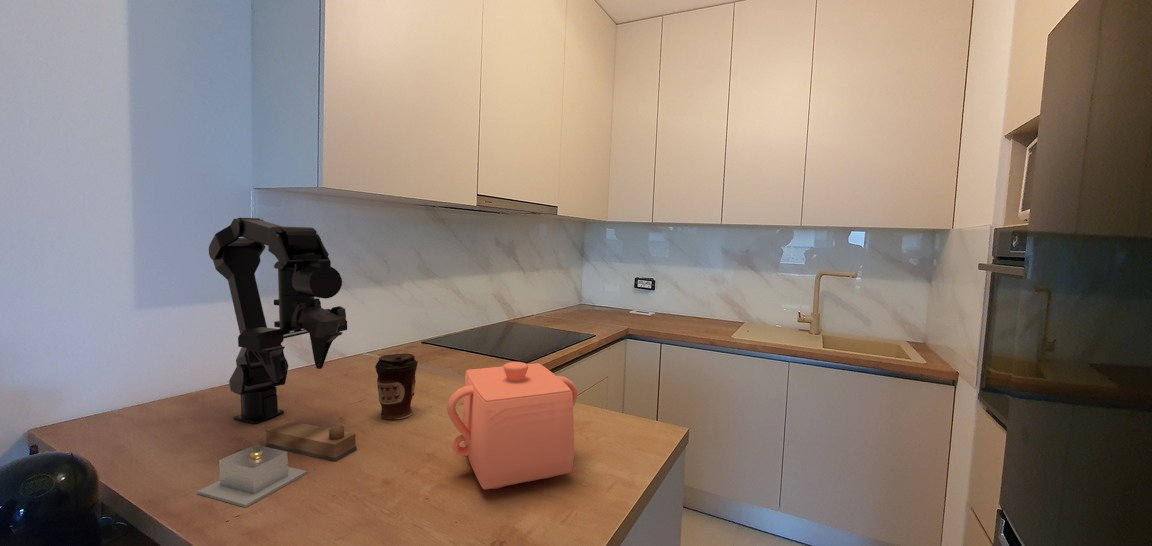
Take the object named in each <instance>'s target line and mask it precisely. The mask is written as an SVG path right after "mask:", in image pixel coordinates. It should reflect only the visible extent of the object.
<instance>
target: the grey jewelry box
mask: <svg viewBox="0 0 1152 546" xmlns="http://www.w3.org/2000/svg"><path fill="white" fill-rule="evenodd" d="M288 457H289V456H288V451H286V450H282V449H277V448H273V447H268V446H263V445H259V444H253V445H251V446H249V447H247V448H244V449H242V450H239V451H237V452H235V453H233V454H229V455H228V456H226V457H222V458H221V459H219V460H218V463H219V466H218V467H219V481H220V486H224V487H228V488H231V489H235V490H239V491H242V492H246V493H250V494H256V493H257V492H259V491H261V490H263V489H265V488H267V487H269V486H270V485H272V484H274V483H276V482H278V481H280V480H282V479H283V478H285V477H287V476H288V467H289V463H288V462H289V461H288Z"/></svg>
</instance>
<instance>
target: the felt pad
mask: <svg viewBox="0 0 1152 546" xmlns="http://www.w3.org/2000/svg"><path fill="white" fill-rule="evenodd" d="M307 474H308V471H307V470H303V469H300V468H295V467H292V466H291V467H290V466H288V476H287V477H285V478H283V479H282V480H280V481H278V482H276V483H274V484H272V485H270V486H269V487H267V488H265V489H263V490H261V491H259V492H257V493H256V494H250V493H246V492H242V491H239V490H235V489H231V488H228V487H224V486H220V480H218V481H216V482H213V483H211V484H210V485H207V486H205V487H203V488H201V489H199V490H197V491H196V494H197V495H200V496H204V497H207V498H211V499H215V500H218V501H220V502H221V501H222V502H225V503H228V504H231V505H235V506H239V507H242V508H248V507H250V506H252V505H254V504H255V503H257V502H258V501H260V500H262V499H264V498H266V497H268V496H270V495H271V494H273V493H275V492H277V491H279V490H280V489H282V488H283V487H285V486H288V485H290V484H291V483H292V482H294V481H296V480H298V479H301V478H302V477H304V476H305V475H307Z"/></svg>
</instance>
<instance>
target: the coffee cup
mask: <svg viewBox="0 0 1152 546" xmlns="http://www.w3.org/2000/svg"><path fill="white" fill-rule="evenodd" d="M415 357H416V356H415V355H414V354H412V353H394V354H384V355H381V356H380V357H378V360H377V363H376V364H375V367H374V368H375V373H377V379H376V380H377V381H376V384H377V391H378V395H377V396H378V402H379V404H380V407H381V413H380V417H381V418H382V419H385V420H402V419H406V418H409V417H411V416H412V415H413V410H412V407H411V405H412V401H413V397H414V396H415V391H416V390H415V389H416V372H417V370H418V363H419V362H418V361H417V360H416V359H415Z"/></svg>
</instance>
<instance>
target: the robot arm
mask: <svg viewBox="0 0 1152 546" xmlns="http://www.w3.org/2000/svg"><path fill="white" fill-rule="evenodd" d="M266 246H268V252H269V253H271V254H272V255H273V256H274V257H275V258H276V259H277V262H275V264H274V265H273V268H274V269H277V281H278V282H277V283H278V298H277V299H276V298H275V299H273V306H278V312H279V314H278V316H279V317H278V318H279V319H278V320H276V321H273V322H274V323H273V324H274V326H273V327H275V328H272V327H267V326H268V325H267V322H266V317H265V313H264V309H263V304H262V300H261V297H260V292H259V288H258V287H259V286H258V282H257V279H256V272H257V270H258V267H259V265H260V263H261V255H262V254H263V252H264V250H265V249H266ZM208 254H209V255H208V256H209V257H210V259H211V260H212V262H213V265H214V268H215V270H216V271H217V273H219V274H220V275H221V276H222V277H224V279H226V280H227V282H228V287H229V291H230V297H231V301H232V304H233V308H234V313H235V318H236V322H237V328H238V331H239V335H238V336H237V343H238V345H237V346H238V348H240V350H239V352H238V354H237V357H236V360H235V362H236V363H235V364H236V367H235V369H234V371H233V373H232V375H231V376H230V378H229V381H228V382H229V383H228V385H229V388H230V392H232V393H234V394H237V395H239V396H240V412H241V413H240V414H238V415H235V416H234V417H233V420H236V421H239V422H246V423H251V424H259V423H261V422H264V421H266V420H269V419H272V418H273V417H276V416H279V415H281V414H284V413H285V410H284V409H279V407H278V405H279V404H278V403H279V402H278V393H277V387H280V386H285V385H286V382H287V381H286V380H287V377H288V376H287V375H288V372H289V371H288V370H289V363H288V360H287V358H286V356H285V353H284V352H285V351H284V350H285V348H286V347H285V346H283V345H282V344H283V342H284V340H285V339H287V338H288V339H289V338H292V337H297V336H301V335H307V334H309V338H310V343H311V350H312V355H313V361H314V364H315V368H316V369H317V370H321V369H323V367H324V365H325V361H326V358H327V355H328V353H329V350H330V348H331V346H332V343H333V342H334V341H335V340H336V338H338V337H339V336H342V335H343V332H344V331H347V330H348V320H347V315H346V313H347V312H346V307H345V308H344V306H340V305H339V306H333V307H331V308H322V303H321V300H320V299H327V300H328V299H330V298H333V297H335V296H336V295H337V294H338V293H339V292H340V290H341V288H342V286H343V278H342V276H341V274H340V273H339V271H338V270H337V269H336V268H334V267H333V266H332V265H331V264H332V263H331V262H332V261H331V259H330V257H329V255H330V254H329V253H328V250H327V249H326V247H325V245H324V243H323V241H322V239H321V236H320V234H318V231H317V230H316V229H315V228H314V227H308V226H283V225H279V224H277V223H276V224H275V223H272V222H269V221H265V220H264V219H261V218H260V217H257V218H256V217H237V218H233V220H232V221H231V223H230V225H227V226H226V227H225V228H223V229H221V230H219V231H217V232H216V233H215V234H214V236H213V238H212V240H211V242H210V243H209V246H208Z"/></svg>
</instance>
